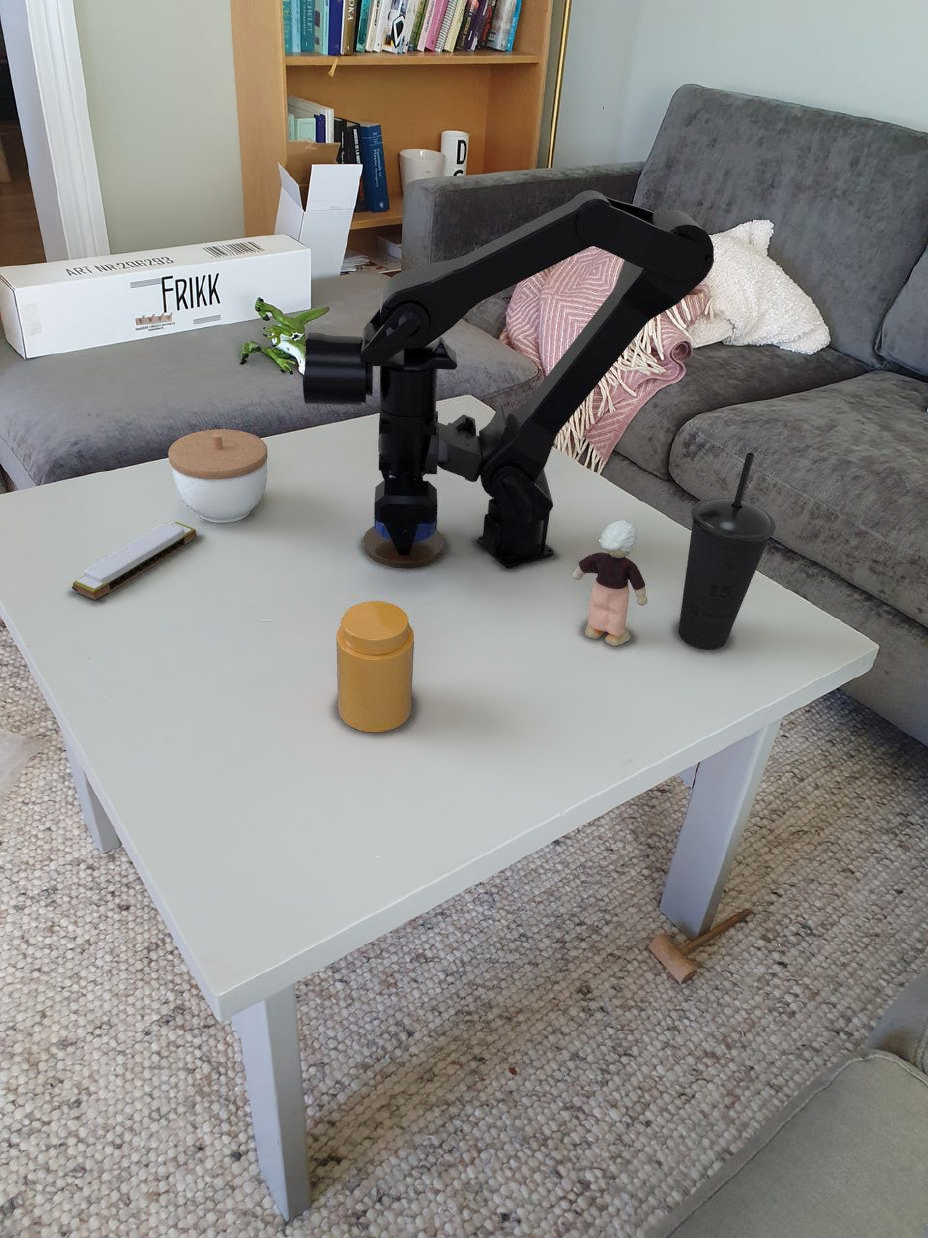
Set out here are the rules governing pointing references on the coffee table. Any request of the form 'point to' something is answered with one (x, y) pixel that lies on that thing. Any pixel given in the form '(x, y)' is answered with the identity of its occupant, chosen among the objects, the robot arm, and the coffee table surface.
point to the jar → (374, 666)
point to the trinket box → (220, 473)
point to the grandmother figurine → (612, 583)
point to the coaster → (388, 555)
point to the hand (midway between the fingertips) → (404, 538)
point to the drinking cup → (721, 564)
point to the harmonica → (133, 559)
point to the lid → (421, 533)
